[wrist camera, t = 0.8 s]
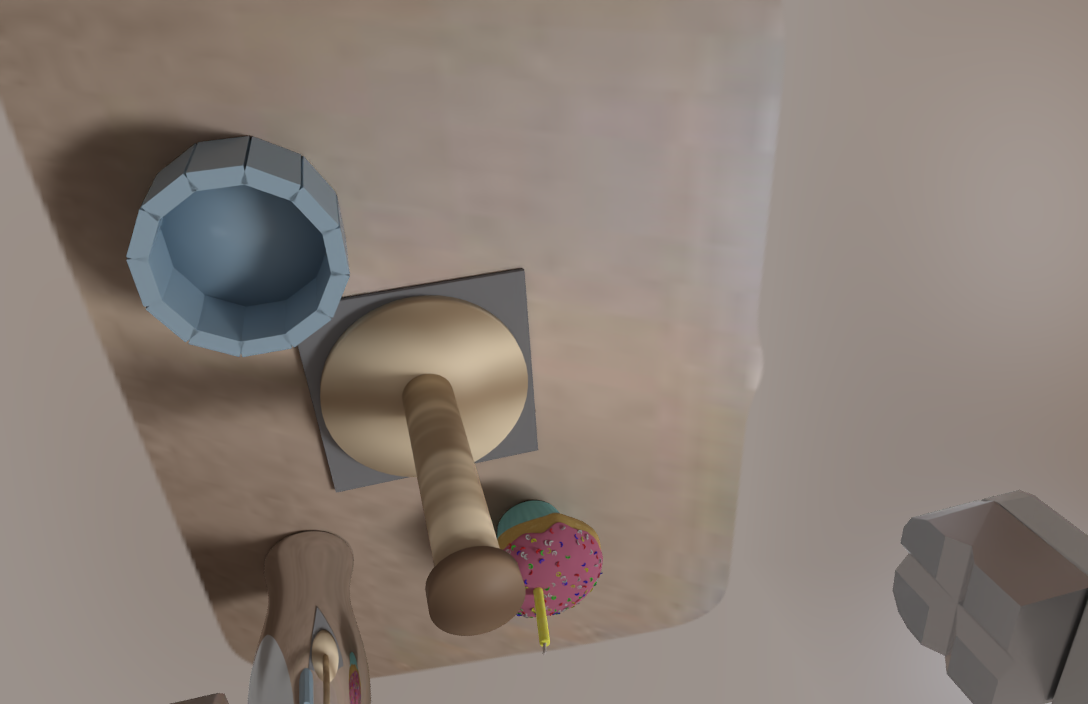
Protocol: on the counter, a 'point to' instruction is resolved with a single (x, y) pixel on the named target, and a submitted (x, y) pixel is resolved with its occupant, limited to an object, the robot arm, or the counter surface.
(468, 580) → the brown piece
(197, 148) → the bowl
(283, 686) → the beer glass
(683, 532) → the counter surface
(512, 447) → the mat
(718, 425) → the counter surface
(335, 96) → the counter surface
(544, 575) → the cupcake
